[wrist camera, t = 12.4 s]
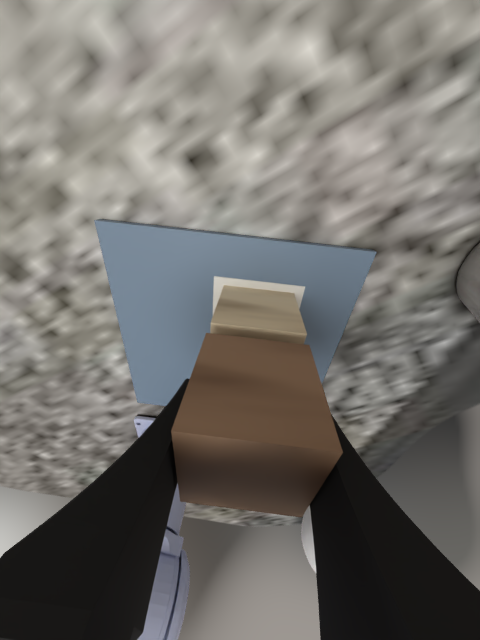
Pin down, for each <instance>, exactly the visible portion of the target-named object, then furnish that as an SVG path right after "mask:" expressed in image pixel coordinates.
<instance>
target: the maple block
mask: <svg viewBox="0 0 480 640" xmlns="http://www.w3.org/2000/svg"><path fill="white" fill-rule="evenodd" d="M210 333H212V334H221V335H229V336H238V337H246V338H254V339H263V340H271V341H280V342H288V343H297V344H304V342H305V339H306V336H307V332H306V329H305V326H304V323H303V320H302V317H301V313H300V310H299V307H298V304H297V301H296V298H295V295H294V293H289V292H280V291H271V290H263V289H254V288H245V287H236V286H227V285H224V286H223V289H222V292H221V295H220V297H219V300H218V303H217V306H216V309H215V312H214V314H213V317H212V320H211V328H210Z"/></svg>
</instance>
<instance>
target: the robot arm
mask: <svg viewBox="0 0 480 640" xmlns="http://www.w3.org/2000/svg"><path fill="white" fill-rule="evenodd" d="M189 380H190V379H188V378H187V379H185V380H184V382H183V383H182V385H181V386H180V388H179V389H178V391H177V392H176V394H175V395H174V396H173V398H172V399H171V400H170V402H169V403H168V404H167V405H166V407H165V408H164V409H163V410H162V412H161V413H160V414H159V415H158V417H157V418H151V417H143V416H136V417H135V419H134V423H135V427H136V430H137V434H138V439H137V440H136V441H135V442H134V443H133V445H132V446H131V447H130V448H129V449H128V450H127V451H126V452H125V453H124V454H123V455H122V456H121V457H120V458H119V459H118V460H116V461H115V462H114V463H113V464H112V465H111V466H110V467H109V468H108V469H107V470H106V471H105V472H104V473H103V474H101V475H100V476H99V477H98V478H97V479H96V480H95V481H94V482H93V483H91V484H90V485H89V486H88V487H87V488H86V489H84V490H83V491H82V492H81V493H80V494H78V495H77V496H76V497H75V498H74V499H73V500H71V501H70V502H69V503H68V504H67V505H65V506H64V507H63V508H62V509H61V510H59V511H58V512H57V513H56V514H54V515H53V516H52V517H51V518H49V519H48V520H47V521H45V522H44V523H43V524H42V525H40V526H39V527H38V528H36V529H35V530H34V531H33V532H31V533H30V534H29V535H27V536H26V537H25V538H23V539H22V540H21V541H20V542H18V543H17V544H15V545H14V546H13V547H12V548H10V549H9V550H8V551H6V552H5V553H4V554H3V556H2V557H1V558H0V640H178V637H179V634H180V631H181V627H182V623H183V619H184V614H185V610H186V605H187V599H188V592H189V581H190V567H189V562H188V559H187V554H186V552H185V550H183V549H182V544H183V539H184V538H183V537H181V536H179V532H180V527H181V523H182V518H183V515H184V510H185V506H186V502H180V497H179V489H178V481H177V473H176V465H175V457H174V450H173V442H172V434H171V430H172V427H173V424H174V422H175V419H176V416H177V413H178V410H179V408H180V405H181V402H182V399H183V396H184V394H185V391H186V388H187V385H188V382H189ZM331 416H332V414H331ZM332 419H333V422H334V425H335V429H336V432H337V435H338V438H339V442H340V445H341V448H342V451H343V453H342V455H341V456H340V458H339V460H338V461H337V463H336V464H335V466H334V467H333V469H332V471H331V472H330V474H329V475H328V477H327V478H326V480H325V481H324V483H323V485H322V486H321V488H320V489H319V491H318V492H317V494H316V496H315V497H314V499H313V500H312V502H311V503H310V512H311V521H312V531H313V541H314V552H315V563H316V575H317V588H318V602H319V619H320V636H321V640H480V591H479V590H478V589H477V588H476V587H475V586H474V585H473V584H472V583H471V582H470V581H469V580H468V579H467V578H466V577H465V576H464V575H463V574H462V573H461V572H459V570H458V569H457V568H456V567H455V566H454V565H453V564H452V563H451V562H450V561H449V560H448V559H447V558H446V557H445V556H444V555H443V554H442V553H441V552H440V551H439V550H438V549H437V548H436V547H435V546H434V545H433V543H432V542H431V541H430V540H429V539H428V538H427V537H426V536H425V535H424V534H423V532H422V531H421V530H420V529H419V528H418V527H417V526H416V525H415V524H414V523H413V522H412V520H411V519H410V518H409V517H408V516H407V515H406V514H405V513H404V512H403V510H402V509H401V508H400V507H399V506H398V505H397V503H396V502H395V501H394V500H393V499H392V497H390V495H389V494H388V493H387V491H386V490H385V489H384V488H383V487H382V485H381V484H380V483H379V482H378V480H377V479H376V478H375V476H374V475H373V474H372V473H371V471H370V470H369V469H368V467H367V466H366V465H365V463H364V462H363V461H362V459H361V458H360V456H359V455H358V454H357V452H356V451H355V449H354V448H353V447H352V445H351V444H350V442H349V441H348V439H347V438H346V436H345V435H344V433H343V432H342V430H341V429H340V427H339V426H338V424H337V422H336V421H335V419H334V418H333V416H332Z"/></svg>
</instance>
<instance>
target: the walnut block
mask: <svg viewBox="0 0 480 640" xmlns="http://www.w3.org/2000/svg"><path fill="white" fill-rule="evenodd" d="M171 434H172V442H173V450H174V457H175V465H176V473H177V481H178V489H179V497H180V502H187V503H195V504H203V505H210V506H218V507H226V508H233V509H241V510H249V511H257V512H264V513H272V514H280V515H287V516H295V517H302V516H303V514H304V513H305V511H306V510H307V508H308V507H309V505H310V503H311V502H312V500H313V499H314V497H315V496H316V494H317V492H318V491H319V489H320V488H321V486H322V485H323V483H324V481H325V480H326V478H327V477H328V475H329V474H330V472H331V471H332V469H333V467H334V466H335V464H336V463H337V461H338V460H339V458H340V456H341V455H342V453H343V451H342V448H341V445H340V442H339V438H338V435H337V432H336V429H335V425H334V422H333V419H332V416H331V413H330V409H329V406H328V403H327V400H326V397H325V393H324V390H323V387H322V384H321V381H320V377H319V374H318V371H317V368H316V365H315V361H314V358H313V355H312V352H311V348H310V345H305V344H297V343H288V342H280V341H271V340H263V339H254V338H246V337H238V336H229V335H221V334H212V333H206V335H205V338H204V340H203V343H202V346H201V349H200V352H199V354H198V357H197V360H196V363H195V366H194V368H193V371H192V374H191V377H190V380H189V382H188V385H187V388H186V391H185V394H184V396H183V399H182V402H181V405H180V408H179V410H178V413H177V416H176V419H175V422H174V424H173V427H172V430H171Z"/></svg>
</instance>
